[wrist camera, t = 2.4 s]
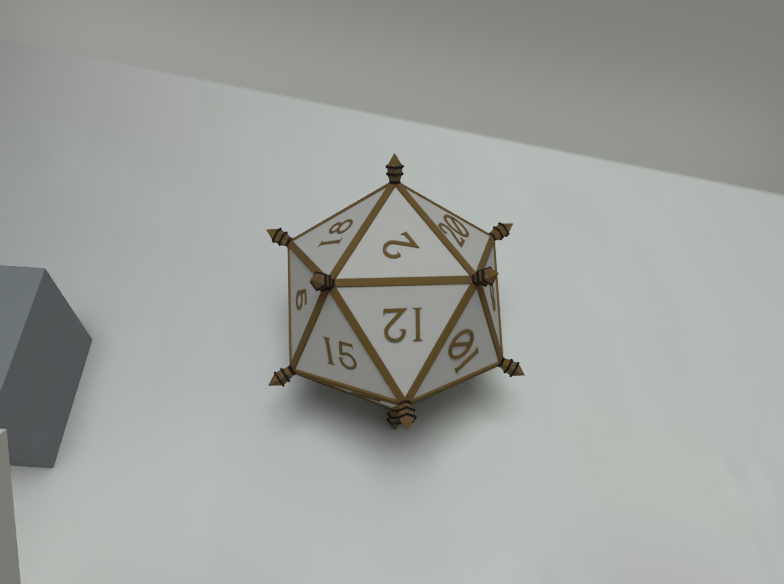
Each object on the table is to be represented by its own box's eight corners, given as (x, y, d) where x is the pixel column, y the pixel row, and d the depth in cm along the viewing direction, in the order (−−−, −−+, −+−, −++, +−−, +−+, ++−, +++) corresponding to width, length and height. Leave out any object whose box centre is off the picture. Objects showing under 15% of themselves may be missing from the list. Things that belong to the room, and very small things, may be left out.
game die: (364, 356, 32) (360, 125, 28) (550, 407, 28) (573, 144, 24) (220, 455, 25) (190, 163, 21) (441, 544, 20) (451, 199, 17)
